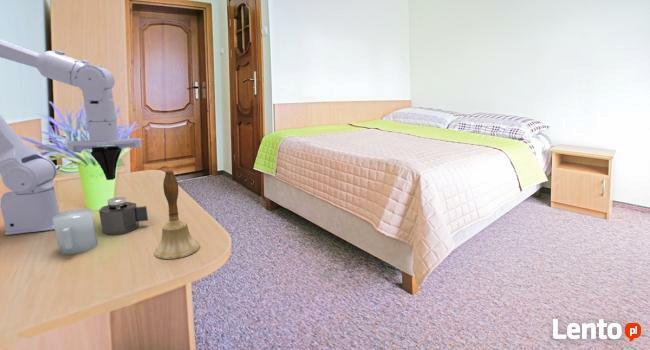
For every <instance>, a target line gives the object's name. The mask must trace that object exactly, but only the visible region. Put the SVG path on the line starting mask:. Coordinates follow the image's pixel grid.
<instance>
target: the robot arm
mask: <svg viewBox="0 0 650 350" xmlns="http://www.w3.org/2000/svg"><path fill="white" fill-rule="evenodd" d="M0 58H2V59H5V60H9V61H12V62H15V63H19V64H23V65H26V66H29V67H32V68H36V69H37V71H38V72H39V73H40V75H41V76H42V77H44V78H48V79H50V80H53V81H56V82H60V83H62V84H63V83H64V84H66V85H70V86H73V87H76V88H78V89H80V90H81V91H82V96H83V105H84V111H85V116H86V122H87V129H88V135H89V136H88V137H89V139H86V140H85V139H84V140H83V139H82V140H70V141H67V142H66V145H67V150H68V152H69V151H70V152H71V151H72V152H73V151H79V150H80V151H81V150H83V151H84V150H91V152H90V154H91V156H92V157H93V159H94V160H95V161H96V162H97V164H98V165H99V167H100V168H101V170H102V171H103V174H104V176H105V179H106V181H113V180H115V179H116V174H117V173H116V170H117V165H118V161H119V157H120V155H121V152H122V150H123V149H126V148H128V149H129V148H136V149H137V148H142V147H143V145H142V140H141V139H142V138H140V137H139V138H120V133H119V128H118V127H119V126H118V121H117V113H116V107H115V106H116V105H115V101H114V96H113V94H114V93H113V87H114V85H115V77H114V75H113V73H112V72H111V71H110V70H109V69H107V68H104V67H103V66H102V65H91V64H90V60H89V61H88V60H86V59H82V60H79V59H77V58H73V57H70V56H68V55H66V52H65V51H61V50H58V49H56V50H53V51H52V50H47V51H45V52H42V53H40V52H37V51H35V50H31V49H29V48H25V47H24V46H20V45H17V44H15V43H12V42H9V41H6V40H5V39H4V40H3V39H1V38H0ZM57 169H58V168H57V166H56V164H55V163H54V162H53V161H52V160H51V159H49V158H47V157H45V156H44V155H42V153H41V152H39V150H38V149H35V148H33V147H31V146H29V145H27V144H26V143H24V141H23V139H21V138H20V137H19V135H18V134H17V132H15V130H14V129H13V128H12V127H11V126H10V125H9V124H8V122H7V121H6V119H4V117H3V116H2V115H1V114H0V177H1V180H2V183H3V184H4V186H5V187H6V188H7V189H8V190H10V191H6V192H5V193H3V194H2V196H1V198H0V211H1V214H2V215H1V216H2V219H3V222H4V223H3V224H4V226H5V231H6V232H4V235H5V236H8V235H17V234H27V233H36V232H44V231H53V230H54V231H55V228H54V223H53V217H54V216H55V215H57V214H60V213H61V212H60V209H59V204H58V197H57V195H56V193H57V192H56V187H55V185H54V184H55V183H54V181H53V180H55V178H56V176H57V174H58V170H57Z"/></svg>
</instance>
